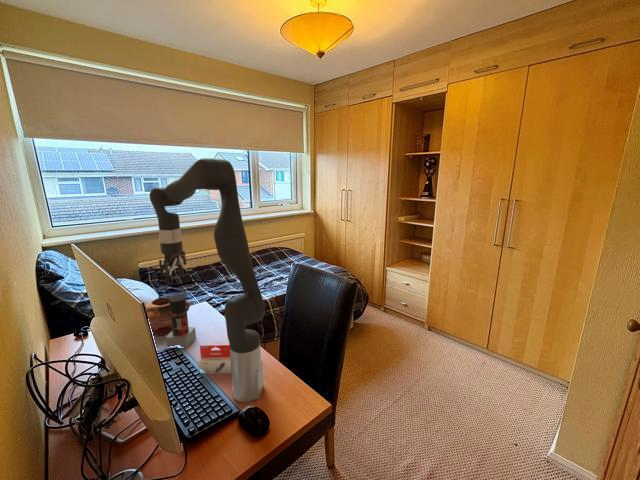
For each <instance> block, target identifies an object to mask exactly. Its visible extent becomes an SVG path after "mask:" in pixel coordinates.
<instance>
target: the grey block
mask: <svg viewBox="0 0 640 480" xmlns="http://www.w3.org/2000/svg"><path fill="white" fill-rule="evenodd" d="M188 328H189V332H188V333H187V334H185V335H182V336H174V335H173V331H171V332H170V333H169V334H166V336H165V342H166V348H167V347H170V346H175V345H180V346H182V347H184V348H185V349H184V350H187V349H188V348H189V346H190V345H192V343H193V342H194V341H195V340H196V338H197V335H196V327H195V326H194V327H193V326H188Z"/></svg>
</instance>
